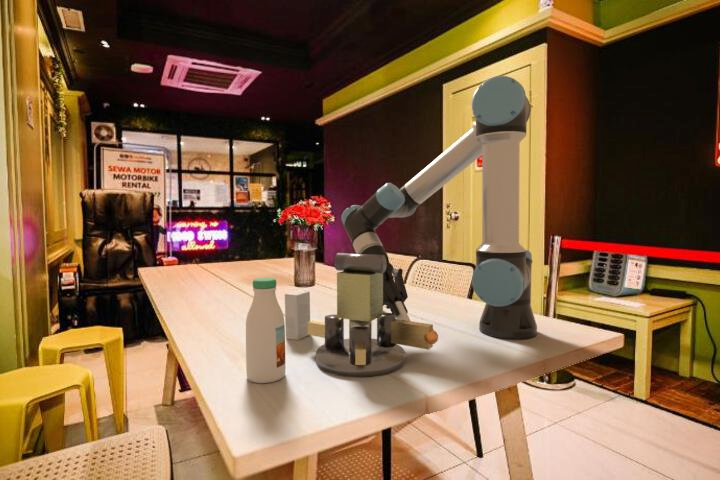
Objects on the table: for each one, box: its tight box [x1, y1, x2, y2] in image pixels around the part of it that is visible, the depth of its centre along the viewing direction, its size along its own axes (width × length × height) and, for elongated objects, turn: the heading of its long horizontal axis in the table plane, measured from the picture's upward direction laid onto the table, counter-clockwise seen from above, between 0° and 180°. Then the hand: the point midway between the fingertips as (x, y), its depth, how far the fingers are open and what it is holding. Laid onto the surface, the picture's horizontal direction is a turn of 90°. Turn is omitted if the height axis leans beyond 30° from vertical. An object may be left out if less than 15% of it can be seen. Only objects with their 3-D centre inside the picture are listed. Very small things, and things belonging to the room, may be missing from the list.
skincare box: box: [284, 289, 311, 341], centre depth 113 cm, size 6×4×12 cm
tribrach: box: [308, 252, 406, 378], centre depth 94 cm, size 24×23×24 cm
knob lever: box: [376, 312, 439, 350], centre depth 96 cm, size 15×4×7 cm, turn 59°
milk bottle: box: [245, 277, 286, 384], centre depth 85 cm, size 8×8×20 cm
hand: (406, 326), depth 104 cm, fingers closed
